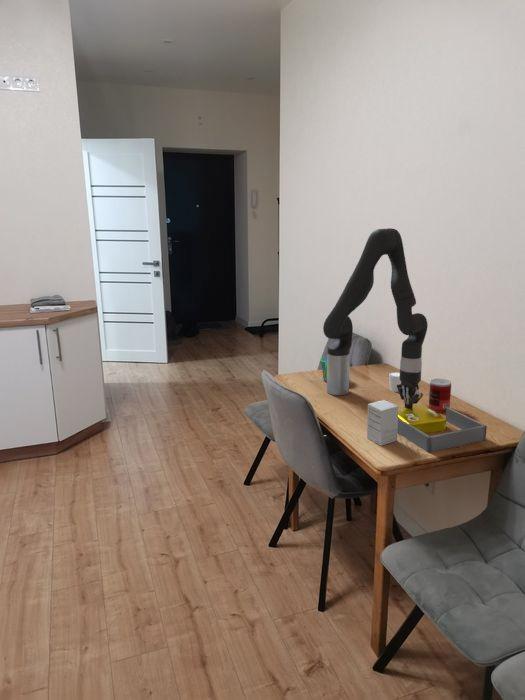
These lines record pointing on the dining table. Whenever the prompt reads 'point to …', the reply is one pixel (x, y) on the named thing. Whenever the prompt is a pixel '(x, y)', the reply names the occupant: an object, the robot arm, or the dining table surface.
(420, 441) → the box
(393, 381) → the white piece
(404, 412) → the element tile
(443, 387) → the canned food
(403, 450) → the dining table surface
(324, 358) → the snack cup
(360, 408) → the dining table surface
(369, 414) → the white rectangular box
